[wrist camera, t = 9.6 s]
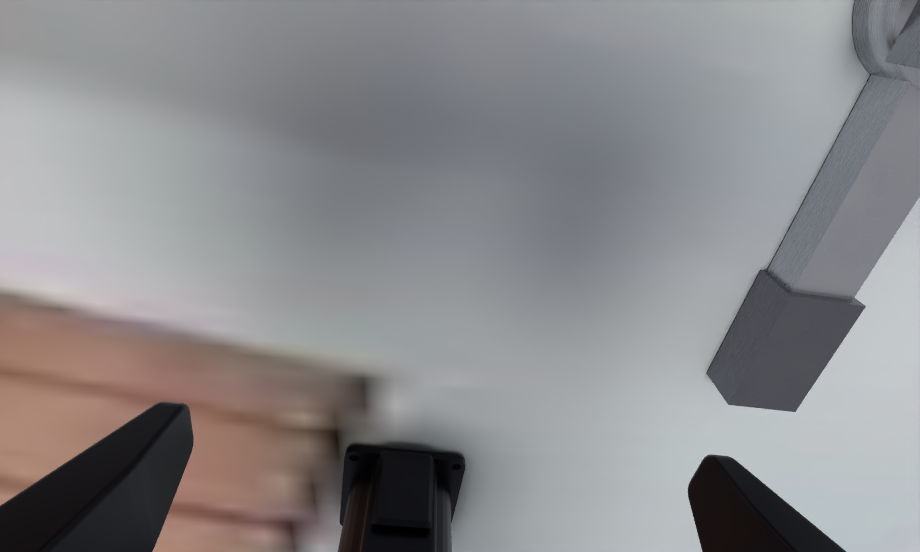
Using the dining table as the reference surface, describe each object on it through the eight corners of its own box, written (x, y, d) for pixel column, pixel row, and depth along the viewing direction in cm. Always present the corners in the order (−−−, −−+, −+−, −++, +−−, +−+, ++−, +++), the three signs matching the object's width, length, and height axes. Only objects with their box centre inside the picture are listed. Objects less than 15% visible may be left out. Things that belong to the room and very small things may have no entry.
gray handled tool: (800, 384, 26) (883, 473, 21) (673, 369, 25) (727, 458, 20) (1132, -125, 16) (1440, -180, 11) (934, -176, 15) (1169, -258, 10)
